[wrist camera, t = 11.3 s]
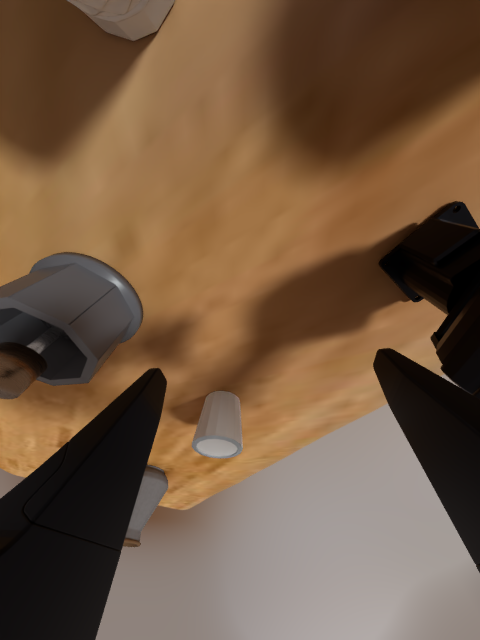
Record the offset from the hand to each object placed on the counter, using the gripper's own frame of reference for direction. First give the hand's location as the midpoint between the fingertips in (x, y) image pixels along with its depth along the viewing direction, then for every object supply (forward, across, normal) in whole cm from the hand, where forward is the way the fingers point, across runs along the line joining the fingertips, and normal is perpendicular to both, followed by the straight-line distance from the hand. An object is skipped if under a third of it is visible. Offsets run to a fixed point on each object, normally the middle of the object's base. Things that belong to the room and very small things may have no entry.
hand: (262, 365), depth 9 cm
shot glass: (+13, +8, +22) cm, 27 cm away
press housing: (+13, +18, +2) cm, 23 cm away
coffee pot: (+13, +37, +54) cm, 67 cm away
